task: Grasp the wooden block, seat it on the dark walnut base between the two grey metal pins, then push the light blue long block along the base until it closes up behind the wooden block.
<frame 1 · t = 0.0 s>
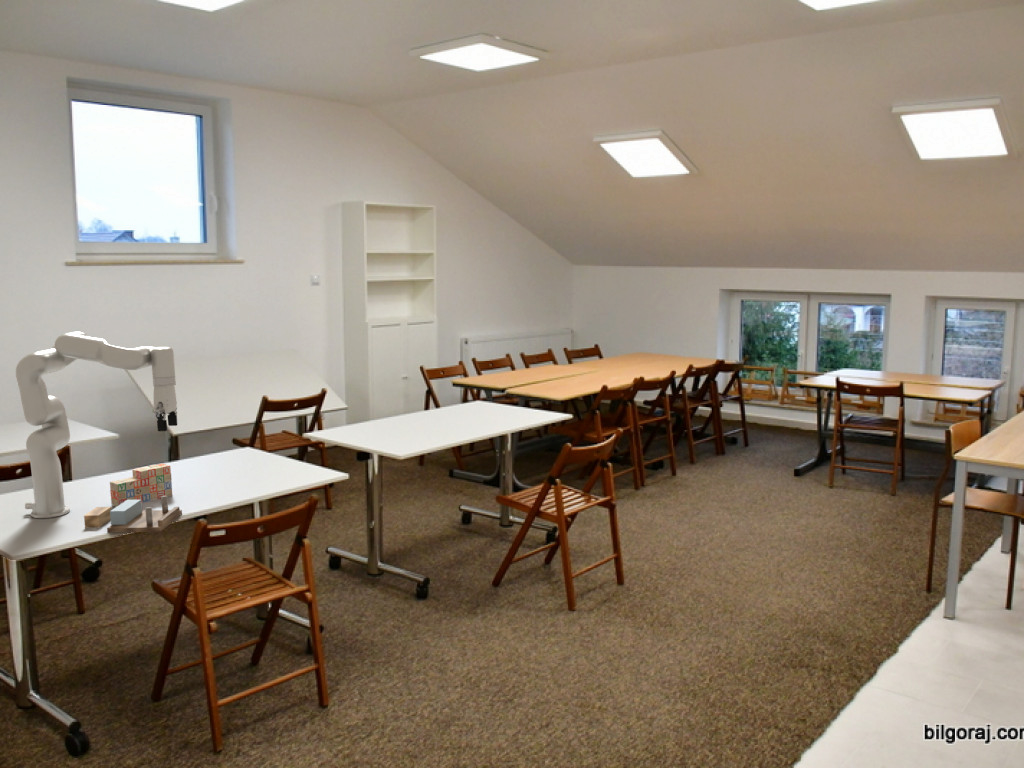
hand: (167, 428, 311), 31 cm above the table, fingers open, 9 cm apart
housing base: (145, 522, 302), on the table
wooden block: (98, 523, 303), on the table
stack of blocks: (142, 501, 331), on the table
light blue long block: (126, 511, 302), point 4 cm above the table, slide at 0.0 cm
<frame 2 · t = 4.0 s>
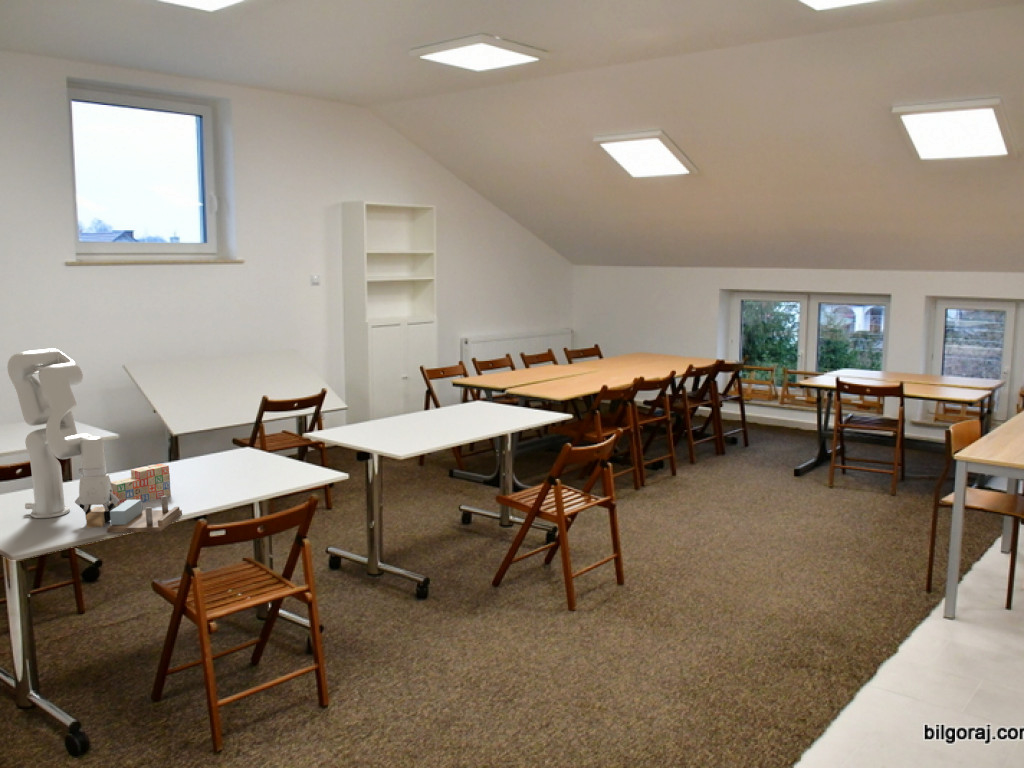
hand: (98, 521, 303), 1 cm above the table, fingers closed on wooden block, 5 cm apart
wooden block: (99, 522, 303), on the table, touching gripper
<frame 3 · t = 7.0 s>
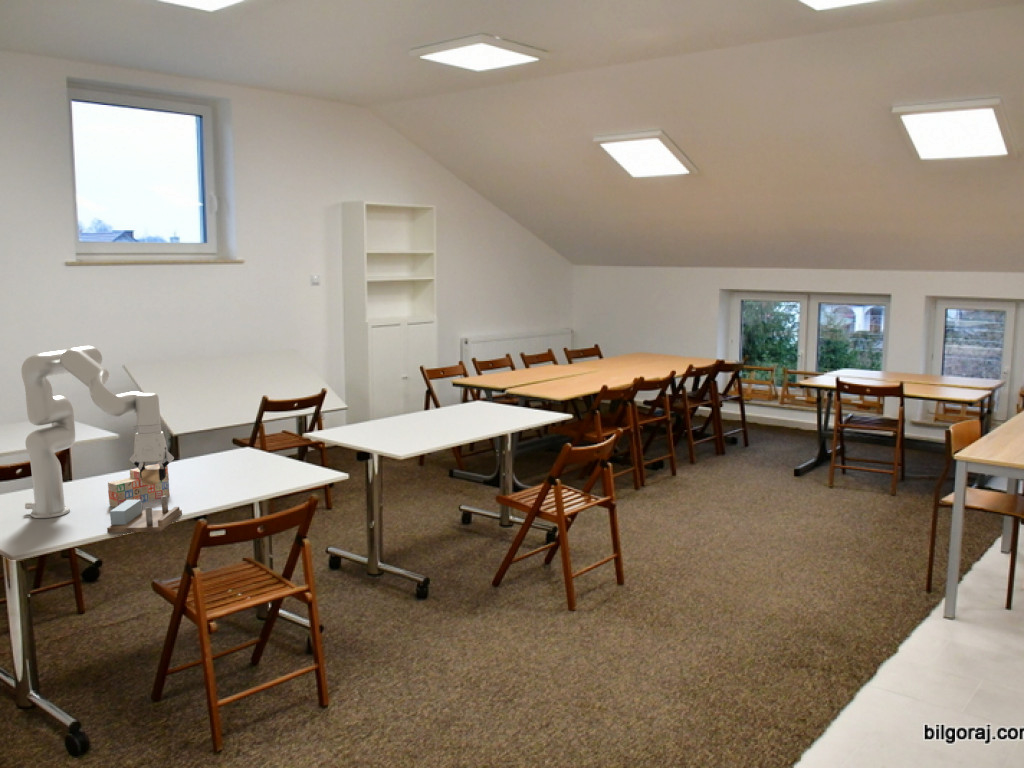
hand: (153, 479, 300), 16 cm above the table, fingers closed on wooden block, 5 cm apart
wooden block: (153, 480, 300), point 15 cm above the table, touching gripper
when the fingers open (4 cm above the table, at t = 10.2 s): wooden block drops 2 cm, resting on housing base.
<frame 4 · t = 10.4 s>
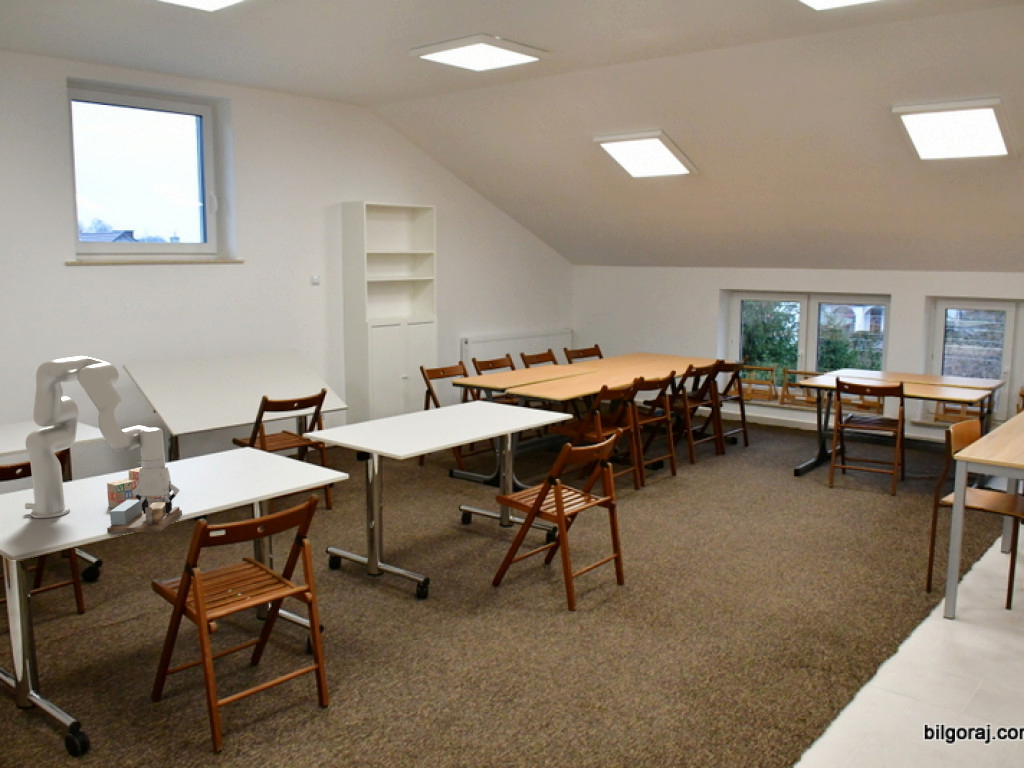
hand: (157, 512, 302), 4 cm above the table, fingers open, 7 cm apart
wooden block: (157, 518, 302), point 1 cm above the table, touching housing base
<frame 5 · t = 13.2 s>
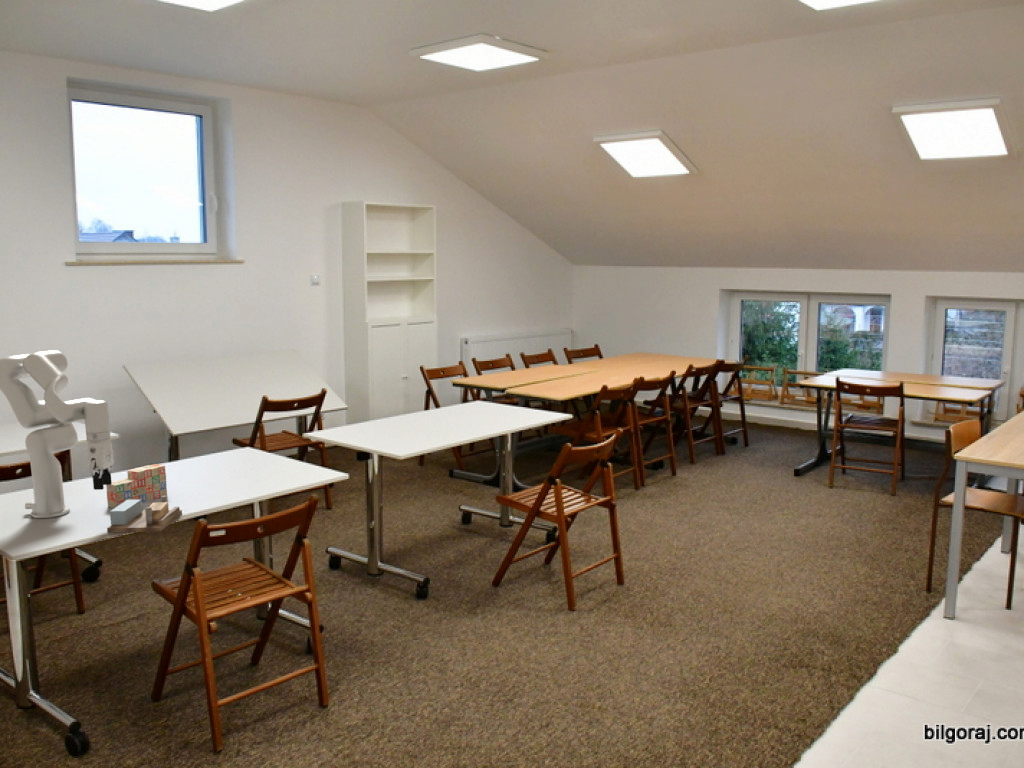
hand: (102, 486, 300), 13 cm above the table, fingers open, 5 cm apart
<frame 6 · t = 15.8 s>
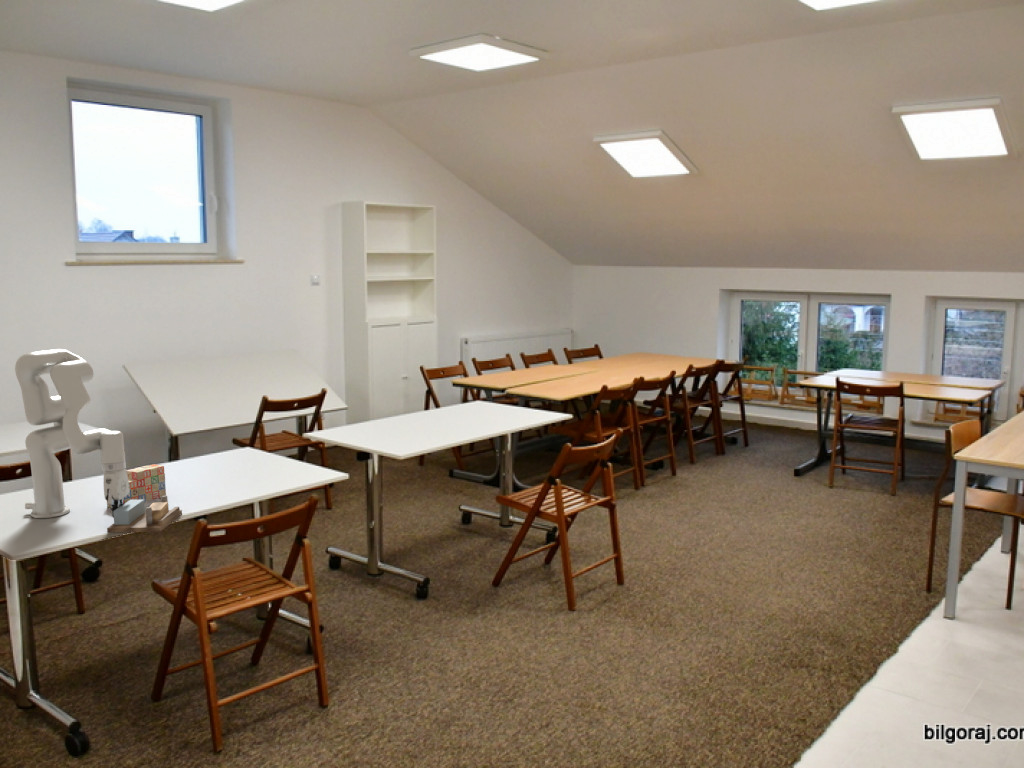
hand: (118, 517, 302), 2 cm above the table, fingers closed
light blue long block: (129, 511, 302), point 4 cm above the table, slide at 1.1 cm, touching gripper
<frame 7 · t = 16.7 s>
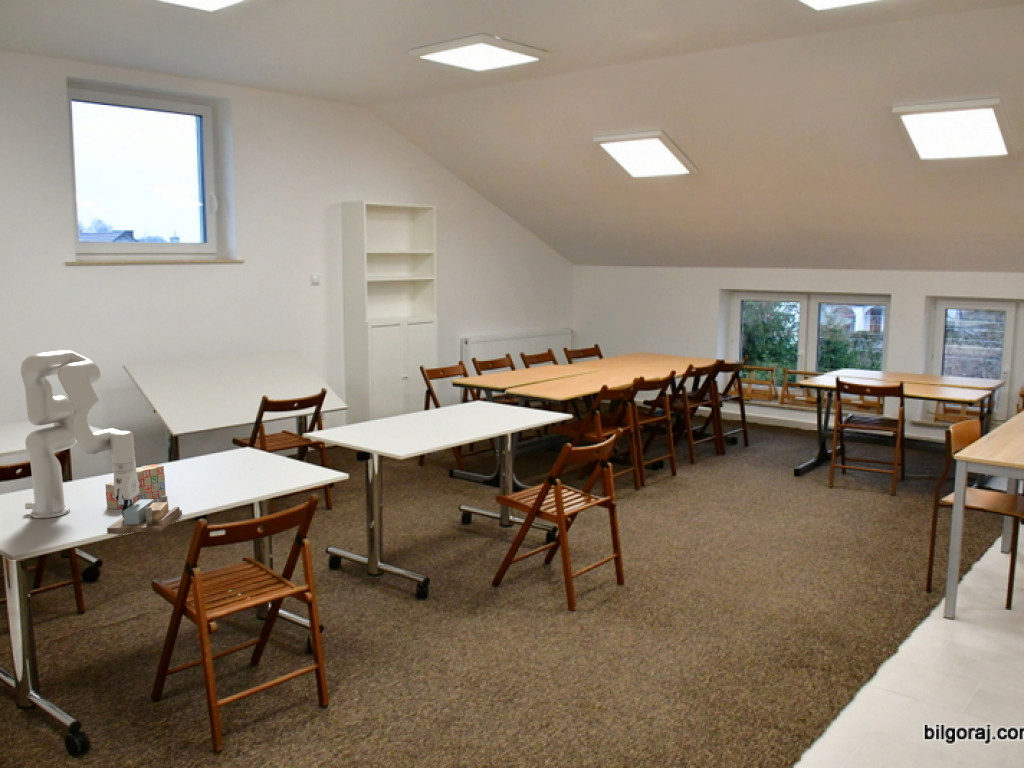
hand: (128, 517, 302), 2 cm above the table, fingers closed
light blue long block: (139, 511, 302), point 4 cm above the table, slide at 4.6 cm, touching gripper
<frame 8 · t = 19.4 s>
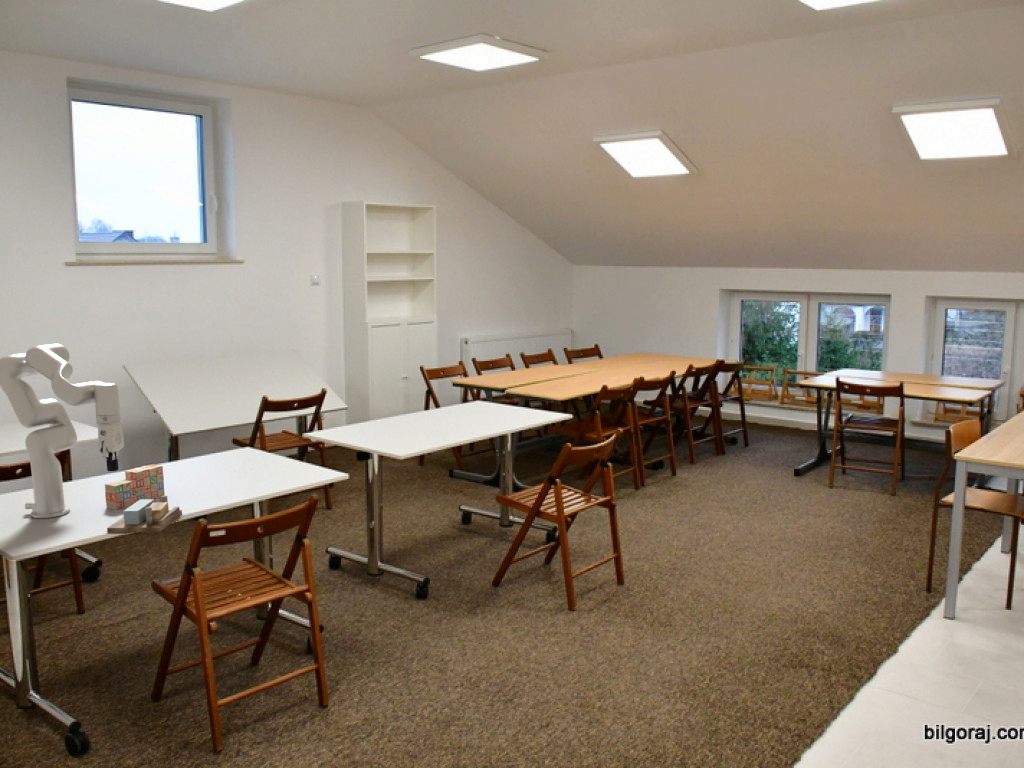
hand: (112, 470, 299), 19 cm above the table, fingers closed
light blue long block: (139, 511, 302), point 4 cm above the table, slide at 4.6 cm
at the end: wooden block 0.2 cm from the target spot on the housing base, point 1.5 cm above the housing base's base; wooden block tilted 0°; light blue long block slide at 4.6 cm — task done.
